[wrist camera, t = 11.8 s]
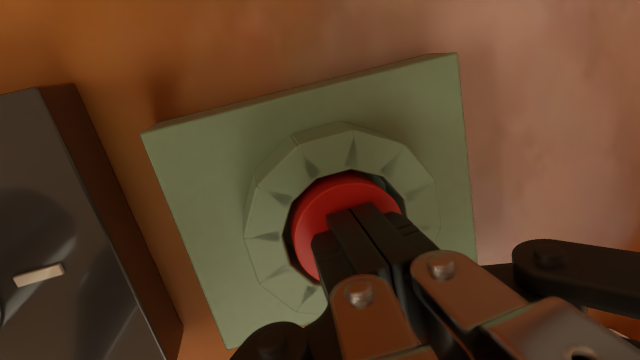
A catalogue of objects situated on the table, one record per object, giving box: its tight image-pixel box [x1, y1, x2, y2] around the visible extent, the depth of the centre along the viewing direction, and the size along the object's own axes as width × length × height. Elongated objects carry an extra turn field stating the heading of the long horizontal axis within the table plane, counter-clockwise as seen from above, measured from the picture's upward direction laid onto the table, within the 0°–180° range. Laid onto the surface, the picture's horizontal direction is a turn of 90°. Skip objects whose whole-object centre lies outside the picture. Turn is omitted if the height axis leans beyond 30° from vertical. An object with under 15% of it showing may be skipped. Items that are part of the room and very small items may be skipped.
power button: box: [288, 169, 401, 281], centre depth 12 cm, size 4×4×2 cm
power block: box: [140, 52, 478, 350], centre depth 14 cm, size 11×9×4 cm
